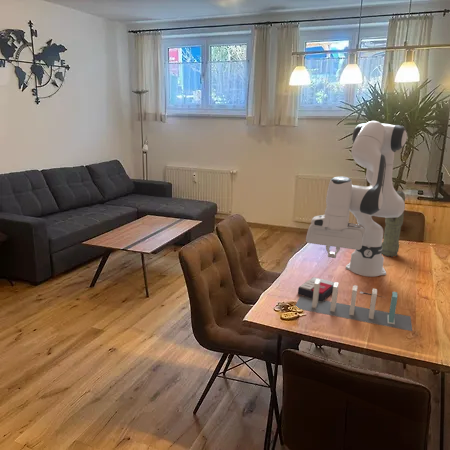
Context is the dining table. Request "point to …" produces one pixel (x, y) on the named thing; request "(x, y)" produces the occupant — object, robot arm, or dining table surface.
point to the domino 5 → (393, 307)
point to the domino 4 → (372, 303)
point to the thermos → (392, 233)
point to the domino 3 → (353, 300)
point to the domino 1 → (316, 293)
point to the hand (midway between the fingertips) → (331, 257)
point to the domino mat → (355, 313)
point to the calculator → (324, 289)
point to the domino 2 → (334, 296)
